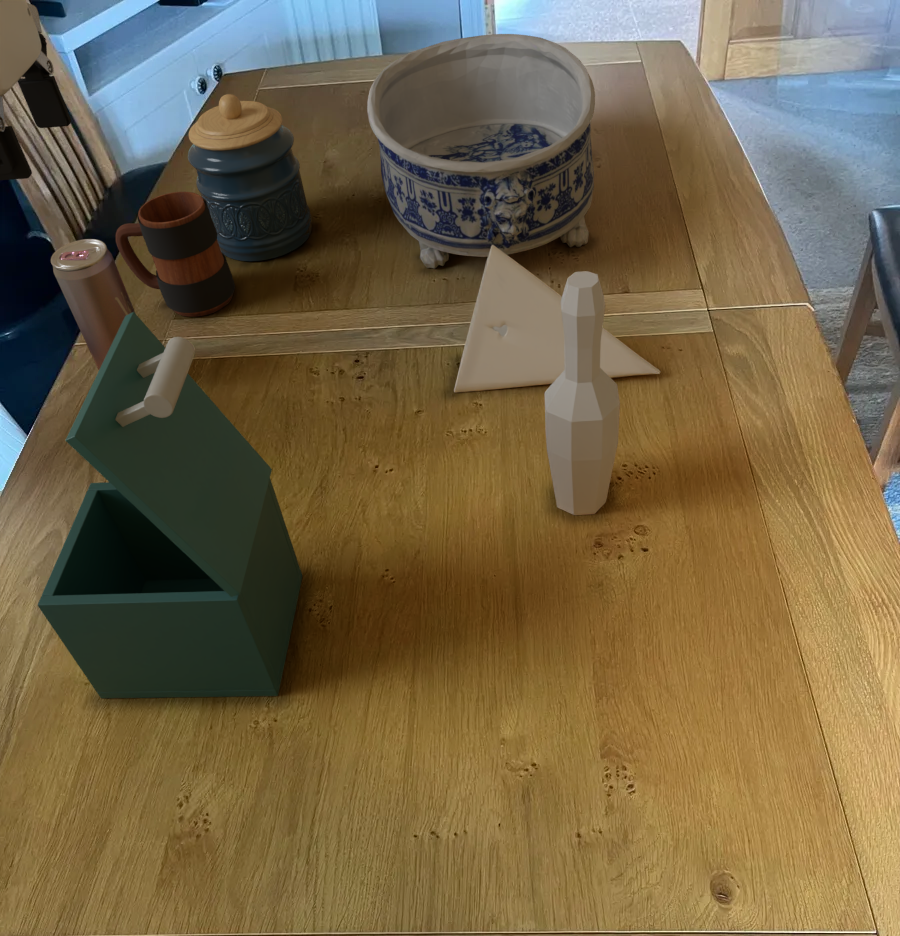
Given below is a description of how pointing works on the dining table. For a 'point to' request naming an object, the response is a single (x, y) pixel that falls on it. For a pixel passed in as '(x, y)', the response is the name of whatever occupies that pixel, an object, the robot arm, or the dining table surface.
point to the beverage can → (92, 292)
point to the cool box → (169, 606)
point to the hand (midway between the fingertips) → (35, 150)
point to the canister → (250, 180)
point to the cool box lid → (173, 452)
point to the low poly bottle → (582, 404)
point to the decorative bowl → (486, 144)
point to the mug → (180, 254)
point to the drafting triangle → (525, 334)
